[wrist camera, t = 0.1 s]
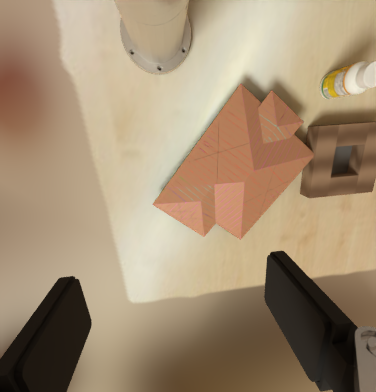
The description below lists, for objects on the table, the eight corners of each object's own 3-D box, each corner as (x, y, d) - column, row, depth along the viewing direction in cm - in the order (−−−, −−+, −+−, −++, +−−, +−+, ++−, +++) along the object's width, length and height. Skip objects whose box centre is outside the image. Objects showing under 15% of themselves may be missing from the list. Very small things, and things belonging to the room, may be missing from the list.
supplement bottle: (315, 98, 43) (355, 90, 34) (322, 70, 42) (365, 53, 32) (338, 100, 44) (382, 93, 35) (345, 72, 42) (394, 57, 33)
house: (314, 143, 47) (343, 146, 39) (225, 245, 53) (235, 265, 46) (243, 74, 41) (261, 62, 33) (153, 199, 47) (150, 213, 40)
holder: (308, 126, 45) (319, 126, 42) (373, 121, 46) (389, 121, 43) (299, 193, 50) (309, 198, 47) (358, 187, 51) (372, 191, 48)
